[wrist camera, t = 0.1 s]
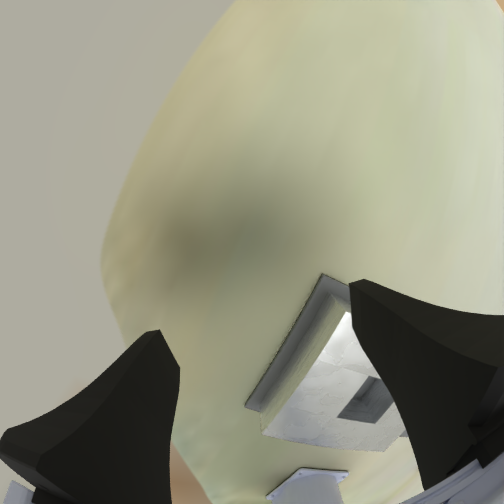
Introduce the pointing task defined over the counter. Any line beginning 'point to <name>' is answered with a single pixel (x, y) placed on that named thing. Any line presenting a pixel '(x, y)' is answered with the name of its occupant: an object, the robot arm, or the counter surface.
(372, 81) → the counter surface
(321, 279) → the rubber mat
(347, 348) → the hole block
